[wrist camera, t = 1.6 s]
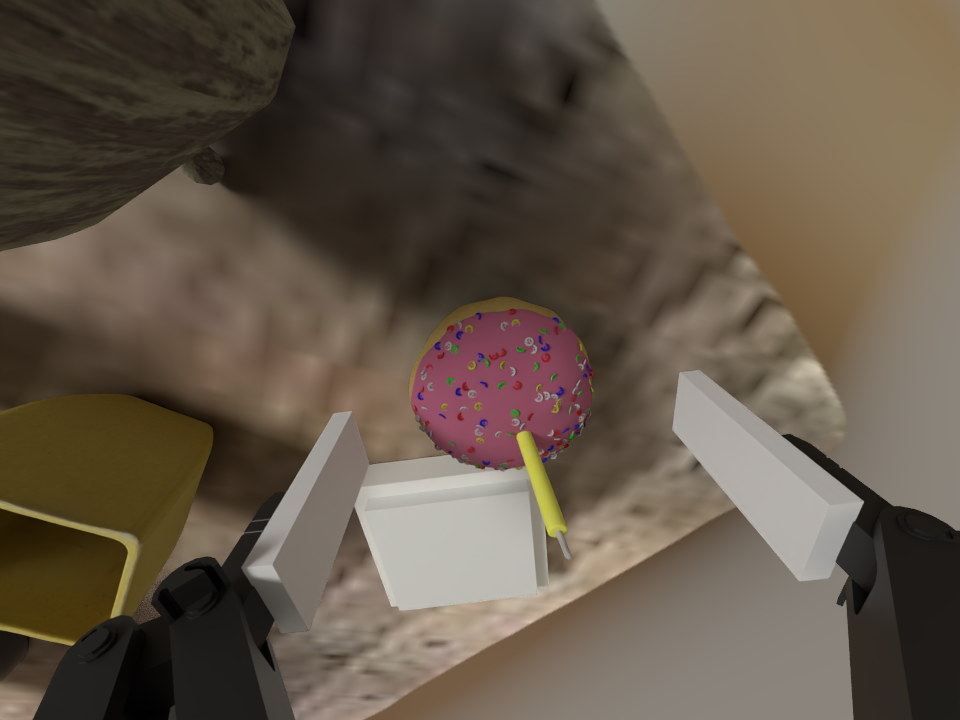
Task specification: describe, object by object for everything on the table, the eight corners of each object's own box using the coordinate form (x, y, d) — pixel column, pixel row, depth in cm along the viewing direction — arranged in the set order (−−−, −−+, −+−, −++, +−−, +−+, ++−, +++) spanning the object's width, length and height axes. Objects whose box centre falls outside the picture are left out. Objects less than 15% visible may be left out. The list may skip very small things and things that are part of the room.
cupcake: (596, 355, 22) (730, 524, 11) (488, 436, 24) (510, 645, 13) (501, 244, 19) (555, 321, 8) (389, 348, 21) (308, 522, 10)
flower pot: (257, 414, 22) (140, 544, 14) (221, 507, 25) (107, 657, 17) (96, 350, 20) (-152, 460, 12) (77, 460, 23) (-130, 606, 15)
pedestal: (396, 580, 29) (389, 620, 27) (356, 466, 24) (343, 501, 22) (543, 563, 29) (551, 601, 27) (535, 444, 24) (544, 476, 21)
